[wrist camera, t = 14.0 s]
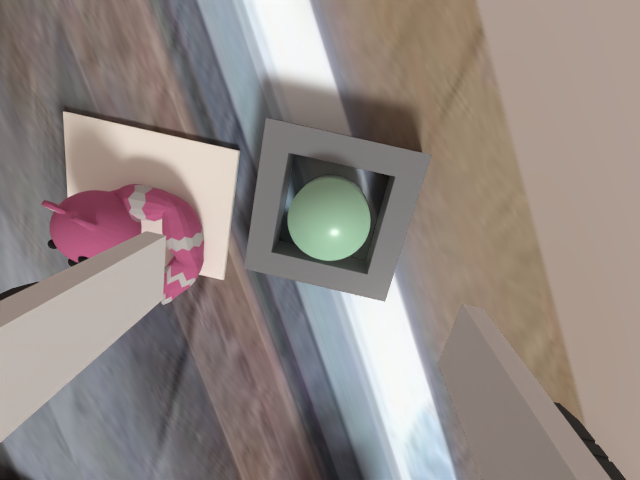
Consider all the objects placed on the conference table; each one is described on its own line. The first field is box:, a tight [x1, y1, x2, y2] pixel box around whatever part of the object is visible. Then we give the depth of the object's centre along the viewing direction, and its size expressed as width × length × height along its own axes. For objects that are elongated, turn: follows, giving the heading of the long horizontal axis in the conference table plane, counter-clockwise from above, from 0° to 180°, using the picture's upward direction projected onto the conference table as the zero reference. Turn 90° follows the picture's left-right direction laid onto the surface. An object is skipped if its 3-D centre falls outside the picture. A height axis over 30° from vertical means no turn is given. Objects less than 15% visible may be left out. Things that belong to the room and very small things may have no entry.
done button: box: [288, 175, 371, 261], centre depth 24 cm, size 6×6×3 cm
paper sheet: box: [63, 111, 240, 280], centre depth 28 cm, size 15×12×1 cm
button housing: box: [244, 118, 431, 301], centre depth 26 cm, size 12×12×3 cm
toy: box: [42, 184, 204, 305], centre depth 27 cm, size 11×9×10 cm
